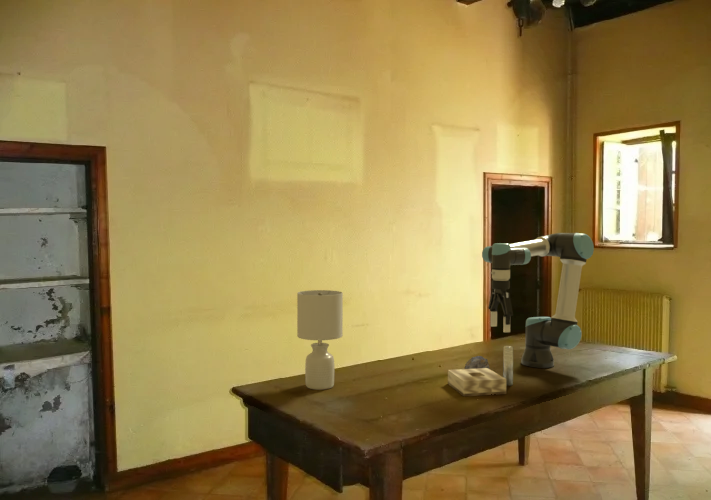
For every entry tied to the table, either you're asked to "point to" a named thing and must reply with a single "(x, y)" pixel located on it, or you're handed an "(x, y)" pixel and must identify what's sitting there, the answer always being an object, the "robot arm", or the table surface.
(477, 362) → the rock
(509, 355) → the pin
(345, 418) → the table surface
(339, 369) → the table surface
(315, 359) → the lamp
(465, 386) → the bore block
